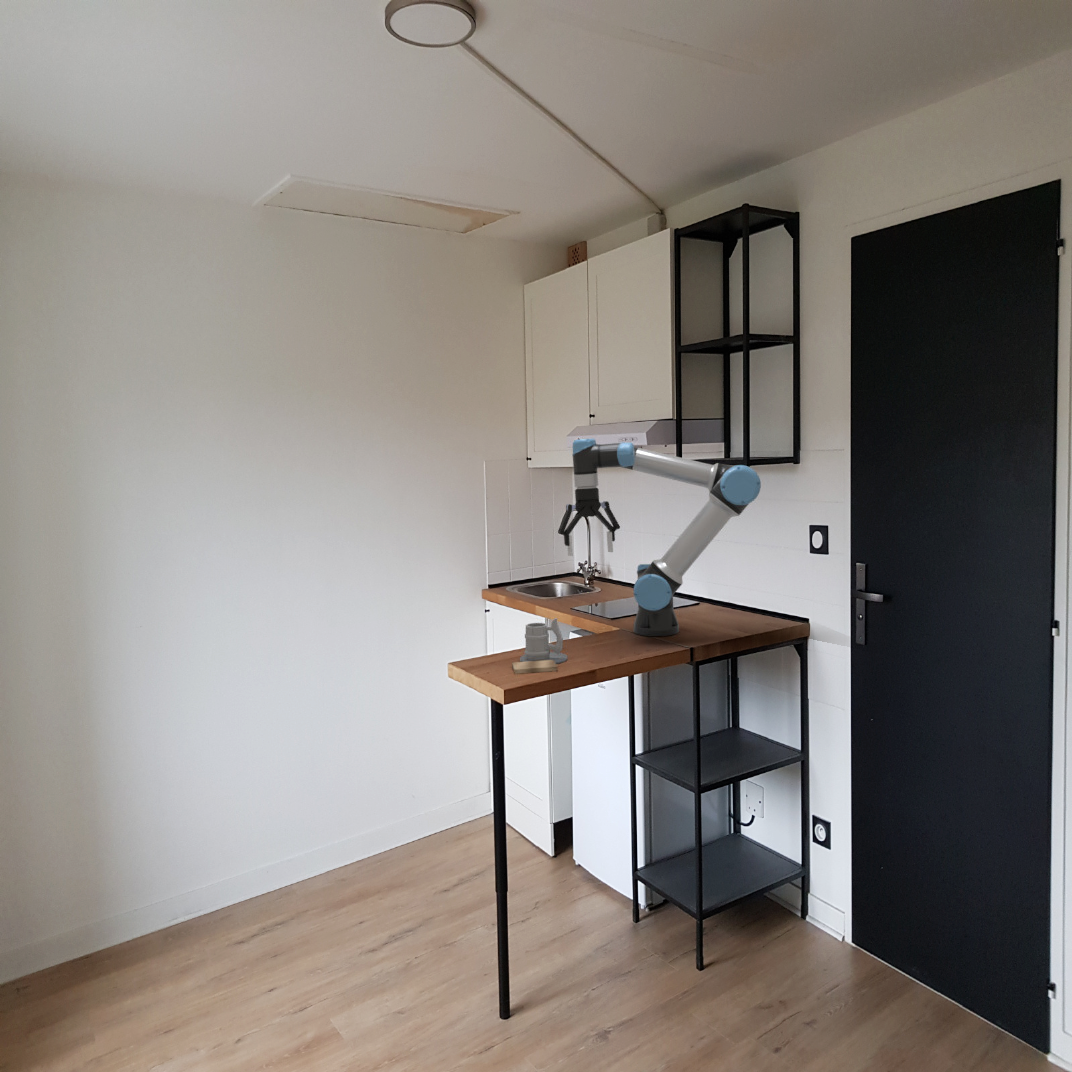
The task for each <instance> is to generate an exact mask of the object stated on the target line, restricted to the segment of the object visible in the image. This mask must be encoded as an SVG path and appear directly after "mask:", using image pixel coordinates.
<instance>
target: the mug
mask: <svg viewBox="0 0 1072 1072" xmlns="http://www.w3.org/2000/svg"><path fill="white" fill-rule="evenodd" d="M548 631H552V632H553V633H554V635H555V637H556V643H555V644H553V643H549V638H550V637H549V632H548ZM524 638H525V650H524V655H526V659H528V660H545V659H548V658H549V654H550V652H551V651H552V652H555V653H556V654H557V655H559V654H560V653H561V652H562V649H563V647H564V646H563V642H564V638H563V635H562V631H561V629H560V627H559V622H558V618H557V617H555V618H553V620H552V621H551V625H548V624H547V623H546V622H545V623H544V622H531V623H528V624H526V625H525V634H524Z"/></svg>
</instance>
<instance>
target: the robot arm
mask: <svg viewBox="0 0 1072 1072" xmlns="http://www.w3.org/2000/svg"><path fill="white" fill-rule="evenodd" d="M572 465H573V466H572V467H573V476H574V478H573V479H574V488H575V490H574V495H575V497H574V498H575V504H570V503H567V504H566V506H565V513H564V515H563V518H562V520H561V523H560V525H559V528H558V531H557V533H558V534H559V535H563V541H564V545H565V547H567V555H568V556H569V557H573V553H574V552H573V538H572V537H573V535H571V533H572V531H573V530H574V528H575V527H576V526H577V524H578V523H579V521H580V520H581V519H582V518H588V517H590V518H591V517H592V518H593V517H596V518H597V520H599V521H600V522H601V523H602V525H603V526H605V527H606V529H607V530H608V531H606V541H607V544H606V545H607V552H609V553H613V552H614V548H613V547H614V544H613V543H614V542H615V540H616V537H615V535H616V533H615V532H616V531H617V530H619V529H621V526H620V524H619V522H618V520H617V519H616V517H615V514H614V513H613V512H612V509H611V508H610V503H609V501H605V500H604V501H603V502H600V491H599V488H598V486H599V477H598V469H604V468H607V469H608V468H623V469H627V470H630V471H631V470H632V471H637V472H640V473H644V474H648V475H652V476H657V477H661V478H665V479H669V480H673V481H678V482H681V483H686V484H690V485H694V486H699V487H703V488H706V489H708V491H709V492H708V497H709V498H708V501H707V502H706V503H705V504H704V506H703V507H702V508H701V509H700V511H699V512H698V513H697V515H696V516H695V517H693V519H692V521H691V522H690V523H689V524H688V525H687V527H685V529H684V530H683V531H682V533H681V534H680V535H679V537H678V538H677V539H676V540H675V541H674V542H673V544H672V545H671V546H669V549H668V550H667V551H666V552H665V553H664V555H662V557H661V558H659V559H653V561H652V562H651V563H640V564H638V565H637V570H636V575H637V580H636V581H635V582H634V585H633V597H634V599H635V602H636V603H637V605H638V606H637V607H638V608H637V613H636V616H635V619H634V622H633V633H634V634H636V635H639V636H646V637H665V636H666V637H667V636H673V635H676V634H679V633H680V624H679V622H678V618H677V616H676V613H675V610H674V594H675V593H676V592H677V591H678V590H679V589H680V587H681V586H682V585H683V584H684V583H683V576H684V575H685V574H686V572H687V571H688V570H689V569H690V568H691V566H692V565H693V564H694V563H695V562H696V561H697V559H698V558H699V557H700V556H701V555H702V553H703V552H704V550H706V548H707V547H708V546H709V544H710V543H712V542H713V540H714V539H715V538H716V536H717V535H718V534H719V533H720V531H721V530H722V529H723V528H724V527H725V525H726V524H727V523H728V522H729V520H730V519H731V518H732V517H740V515H741V514H742V513H743V512H744V510H745V509H746V508H747V507H748V506H749V504H750V503H752V502H754V501H755V500H756V498H758V497H759V494H760V492H761V487H762V486H761V485H762V483H761V478H760V475H758V473H757V471H755V470H754V468H752V467H749V465H748V466H747V465H744V464H736V465H732V464H731V465H730V464H725V463H719V462H717V463H715V464H711V463H705V462H701V461H696V460H693V459H688V458H684V457H680V456H676V455H671V454H666V453H662V452H660V451H659V452H657V451H653V450H649V449H646V448H641V447H636V446H635V445H634V443H633V442H625V441H622V442H616V443H615V442H614V443H604V444H600V443H599V444H598V443H597V442H596V439H595V438H582V439H576V440H573V442H572ZM600 508H602V509H603V511H604V512H605V514H606V515H607V517H608V520H609V521H610V522H609V521H608V520H607V518H606V517H605V516H604V515H603V514H602V513H601V511H599V510H600ZM574 510H576V511H577V512H576V514H574V517H573V518H572V520H571V521H570V522H569V520H570V518H571V515H572V513H573V512H574ZM568 523H569V524H568Z"/></svg>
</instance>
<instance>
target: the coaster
mask: <svg viewBox="0 0 1072 1072" xmlns="http://www.w3.org/2000/svg"><path fill="white" fill-rule="evenodd" d="M545 660H554V662H555V663H556V665H557V664H562V663H565V662H566V661H567V660H568V655H567V654H566V653H562V652H560V654H559V655H557V654H556V653H555V652H554V651H550V654H549V658H548V659H545ZM527 661H542V660H528V659H526V655H525V654H522V655H521V656H520V657H519V662H527Z"/></svg>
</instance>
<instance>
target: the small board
mask: <svg viewBox="0 0 1072 1072" xmlns="http://www.w3.org/2000/svg"><path fill="white" fill-rule="evenodd" d="M511 668H512V670H513V673H514V675H515V674H516V675H517V674H519V675H520V674H530V673H531V674H532V673H544V672H545V673H546V672H548V673H549V672H558V671H559V670H558V669H559V668H558V665H557V664H556V663H555V662H554V660H542V661H527V662H521V661H514V662H511Z"/></svg>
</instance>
